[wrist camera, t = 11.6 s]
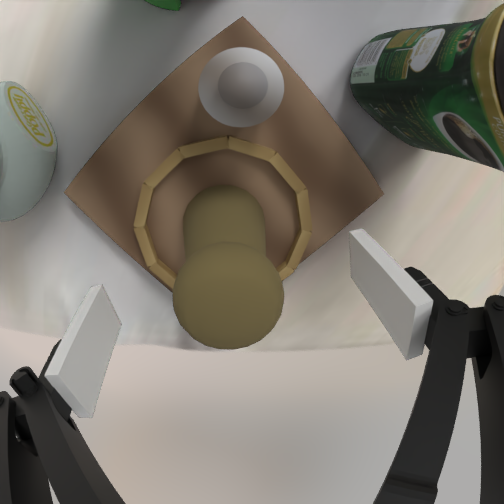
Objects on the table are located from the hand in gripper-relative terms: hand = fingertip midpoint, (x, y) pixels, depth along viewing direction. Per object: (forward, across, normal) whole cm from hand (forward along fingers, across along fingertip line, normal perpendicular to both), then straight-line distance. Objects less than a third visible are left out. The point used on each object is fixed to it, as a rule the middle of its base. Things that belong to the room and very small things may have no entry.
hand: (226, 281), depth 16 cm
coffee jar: (+10, +16, +8) cm, 20 cm away
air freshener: (+10, -16, +11) cm, 21 cm away
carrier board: (+10, +1, +3) cm, 10 cm away
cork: (+8, 0, 0) cm, 8 cm away
